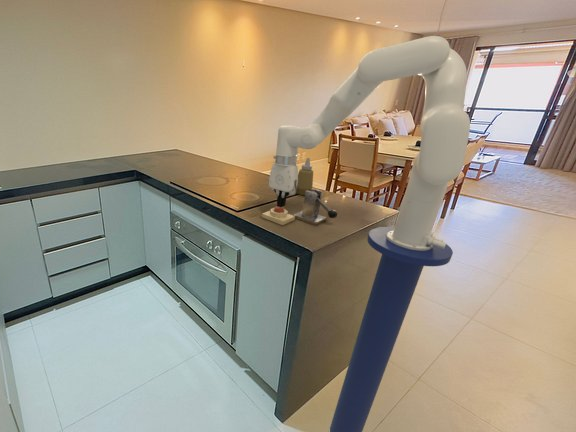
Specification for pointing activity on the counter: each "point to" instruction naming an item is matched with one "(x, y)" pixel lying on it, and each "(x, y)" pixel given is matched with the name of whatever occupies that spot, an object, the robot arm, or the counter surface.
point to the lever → (330, 212)
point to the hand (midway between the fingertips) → (280, 206)
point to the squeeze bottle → (305, 178)
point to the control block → (278, 217)
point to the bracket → (311, 208)
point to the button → (279, 209)
